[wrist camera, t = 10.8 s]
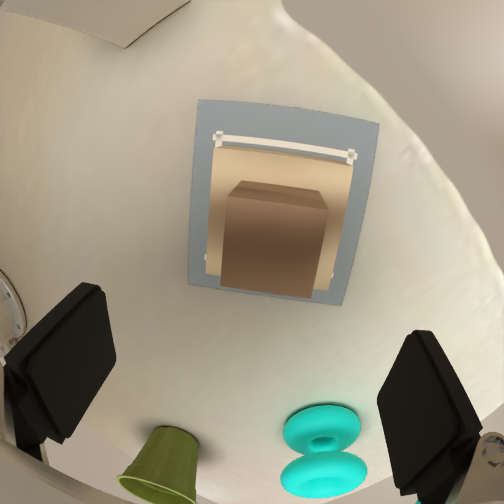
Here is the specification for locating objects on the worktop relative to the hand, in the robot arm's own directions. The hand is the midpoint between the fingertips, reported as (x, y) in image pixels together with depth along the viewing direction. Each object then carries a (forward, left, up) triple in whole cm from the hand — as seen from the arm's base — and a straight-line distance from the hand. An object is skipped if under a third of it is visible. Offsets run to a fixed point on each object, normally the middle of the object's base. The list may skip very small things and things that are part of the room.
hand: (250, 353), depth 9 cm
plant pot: (-37, +10, -18) cm, 42 cm away
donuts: (-27, -10, -18) cm, 34 cm away
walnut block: (0, 0, -13) cm, 13 cm away
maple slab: (0, 0, -17) cm, 17 cm away
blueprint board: (0, 0, -18) cm, 18 cm away
